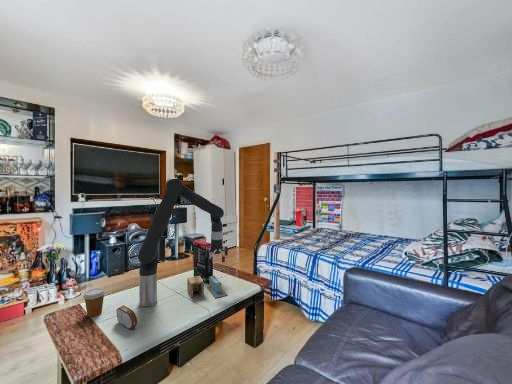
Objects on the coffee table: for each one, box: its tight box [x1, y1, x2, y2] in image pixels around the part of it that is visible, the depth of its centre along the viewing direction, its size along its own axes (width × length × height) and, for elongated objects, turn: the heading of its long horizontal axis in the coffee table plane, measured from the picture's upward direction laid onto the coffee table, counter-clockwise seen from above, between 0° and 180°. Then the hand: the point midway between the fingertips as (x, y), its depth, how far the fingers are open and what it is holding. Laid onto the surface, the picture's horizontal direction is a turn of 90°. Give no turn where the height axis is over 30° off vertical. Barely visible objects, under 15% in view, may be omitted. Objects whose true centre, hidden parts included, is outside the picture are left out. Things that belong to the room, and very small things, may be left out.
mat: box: [206, 285, 229, 299], centre depth 154 cm, size 8×18×1 cm, turn 28°
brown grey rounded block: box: [116, 305, 138, 330], centre depth 116 cm, size 15×3×8 cm, turn 56°
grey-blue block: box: [208, 275, 222, 293], centre depth 157 cm, size 4×13×6 cm, turn 28°
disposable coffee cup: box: [83, 287, 106, 318], centre depth 126 cm, size 10×10×12 cm
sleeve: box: [186, 276, 205, 299], centre depth 150 cm, size 8×10×9 cm
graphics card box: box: [192, 239, 214, 283], centre depth 175 cm, size 17×7×27 cm, turn 47°
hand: (216, 263), depth 153 cm, fingers open, 8 cm apart
